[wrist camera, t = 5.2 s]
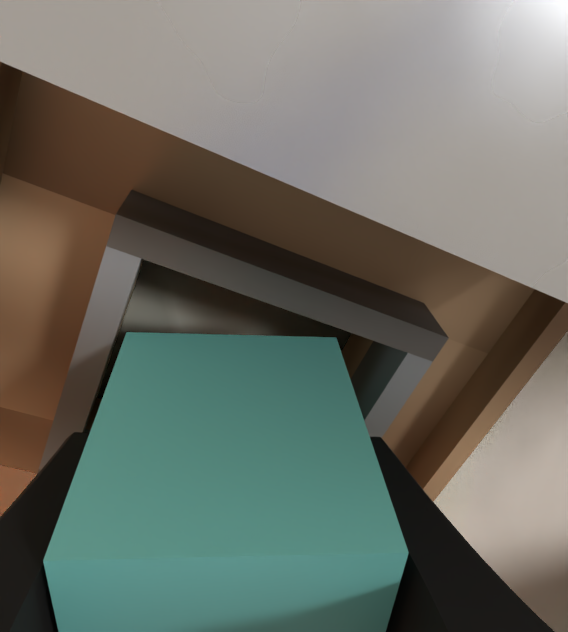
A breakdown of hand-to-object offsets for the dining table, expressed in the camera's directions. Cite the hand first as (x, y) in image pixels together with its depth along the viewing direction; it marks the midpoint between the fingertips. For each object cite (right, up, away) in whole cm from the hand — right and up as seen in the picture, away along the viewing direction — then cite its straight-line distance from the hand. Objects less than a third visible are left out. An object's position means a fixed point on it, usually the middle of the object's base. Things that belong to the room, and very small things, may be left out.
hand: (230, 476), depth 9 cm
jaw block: (0, +1, +2) cm, 2 cm away
